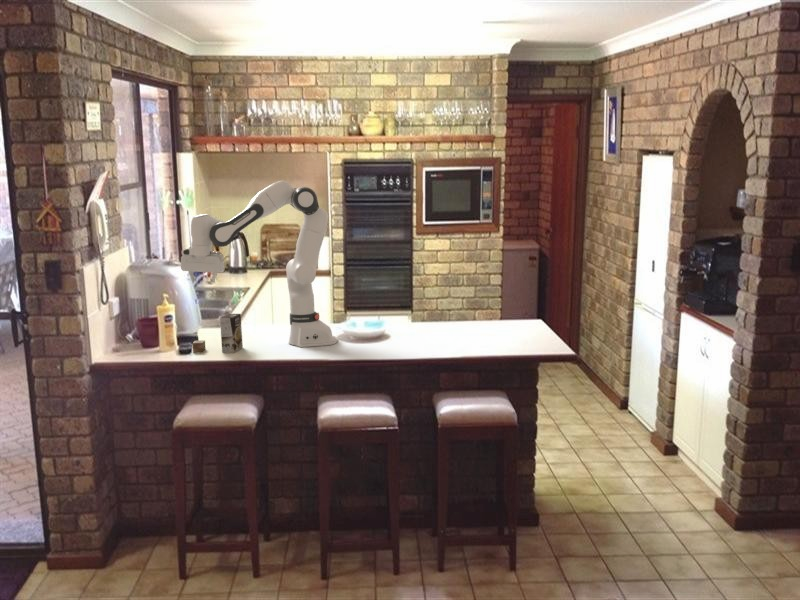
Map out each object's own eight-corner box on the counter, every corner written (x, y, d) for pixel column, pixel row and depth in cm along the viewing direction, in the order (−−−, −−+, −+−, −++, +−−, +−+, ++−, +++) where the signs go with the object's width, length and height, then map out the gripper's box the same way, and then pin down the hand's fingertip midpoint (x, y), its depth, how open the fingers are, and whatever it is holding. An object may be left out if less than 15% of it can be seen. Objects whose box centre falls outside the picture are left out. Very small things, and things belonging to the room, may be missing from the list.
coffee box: (235, 353, 329) (232, 317, 326) (221, 352, 330) (219, 317, 327) (243, 347, 338) (241, 313, 335) (230, 347, 339) (227, 313, 336)
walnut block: (205, 349, 336) (204, 340, 335) (203, 352, 332) (202, 342, 331) (195, 350, 336) (194, 340, 335) (193, 352, 332) (192, 343, 331)
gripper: (226, 251, 329) (227, 281, 331) (185, 249, 334) (187, 279, 337) (219, 252, 323) (220, 284, 325) (178, 250, 328) (179, 281, 331)
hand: (203, 281), depth 331 cm, fingers open, 8 cm apart
